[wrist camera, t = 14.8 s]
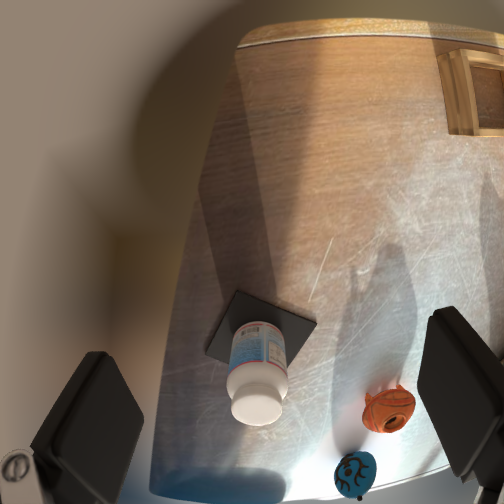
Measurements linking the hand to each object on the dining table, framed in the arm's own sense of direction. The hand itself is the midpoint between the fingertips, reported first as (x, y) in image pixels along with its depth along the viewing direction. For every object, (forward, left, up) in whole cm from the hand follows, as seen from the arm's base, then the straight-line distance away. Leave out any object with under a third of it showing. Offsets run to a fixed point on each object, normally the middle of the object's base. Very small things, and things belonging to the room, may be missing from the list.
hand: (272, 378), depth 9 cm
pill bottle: (+6, -15, -25) cm, 30 cm away
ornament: (+32, -33, -25) cm, 52 cm away
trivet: (+6, -15, -25) cm, 30 cm away
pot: (+27, -18, -25) cm, 41 cm away
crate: (+16, +22, -25) cm, 37 cm away
